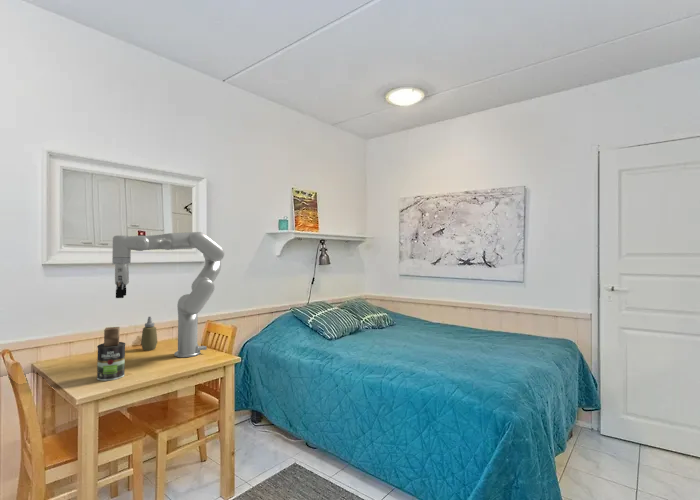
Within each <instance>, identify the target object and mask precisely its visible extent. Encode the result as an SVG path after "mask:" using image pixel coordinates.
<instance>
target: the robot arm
mask: <svg viewBox="0 0 700 500" xmlns="http://www.w3.org/2000/svg"><path fill="white" fill-rule="evenodd" d="M185 249H186V250H187V249H188V250H189V249H196V250H198V251H199V252H200V253H202V254H203V258H204V263H205V264H204V266H203V268H202V269H201V270H200V272H199V274H198V275H197V276H196V278H195V279H194V280H193V281H192V283H191V291H190V293H185V294H183V295H182V296H180V297H179V298H178V301H177V325H178V326H177V351H175V352H174V357H177V358H191V357H195V356H199V355H200V354H201V351H207V345H199V344H198V329H199V328H198V323H199V322H198V321H199V319H198V318H199V317H198V315H199V314H198V313H200V312H202V309H203V308H204V307H205V305H207V302H208V301H209V300H210V298H211V297H212V295H213V293H214V291H215V283H214V282H215V280H216V279H217V278H218V275H219V274H220V271H221V268H222V260H223V259H224V257H225V251H224V249H223V248H222V247H221V246H220V245H219V244H218V243H216V242H215V241H214V240H212V239H211V238H210V237H209V236H208V235H206V234H205V233H203V232H201V231H191V232H171V233H163V234H162V233H161V234H157V235H156V234H153V235H152V234H151V235H130V236H129V235H114V236H113V237H112V256H111V257H112V262H111V264H112V265H114V284H115V287H116V288H115V299H123V298H124V297H125V296H127V285H128V284H129V282H130V281H129V273H130V272H129V271H130V270H129V265H131V257H132V254H131V251H137V252H143V251H150V250H151V251H152V250H154V251H155V250H162V251H163V250H165V251H170V250H171V251H173V250H185Z"/></svg>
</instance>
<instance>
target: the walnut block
mask: <svg viewBox="0 0 700 500" xmlns="http://www.w3.org/2000/svg"><path fill="white" fill-rule="evenodd" d="M103 332H104V333H103V334H104V335H103V336H104V337H103V340H104V341H103V343H104V346H115V345H118V344H119V342H120V326H113V327H111V326H110V327H105V328H104V329H103Z"/></svg>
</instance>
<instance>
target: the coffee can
mask: <svg viewBox="0 0 700 500" xmlns="http://www.w3.org/2000/svg"><path fill="white" fill-rule="evenodd" d="M125 359H126V342H122V341H119V344H118V345H115V346H104V342H103V343H100V344H98V345H97V359H96V360H97V366H96V367H97V368H96V370H97V371H96V380H98V381H100V382H108V381H110V382H111V381H115V380H119V379H122V378H124V377H125V367H126V365H125V364H126V361H125Z"/></svg>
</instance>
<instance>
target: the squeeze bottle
mask: <svg viewBox="0 0 700 500" xmlns="http://www.w3.org/2000/svg"><path fill="white" fill-rule="evenodd" d="M141 331H142V332H141V339H140V341H141V342H140V344H141V347H142V350H143V351H148V352H149V351H154V350H156V348H157V345H158V334H157V333H158V332H157V327H156V326H155V322H153V320H152V316H148V317H147V321H146V322H145V323H144V327H143V328H142V330H141Z"/></svg>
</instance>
